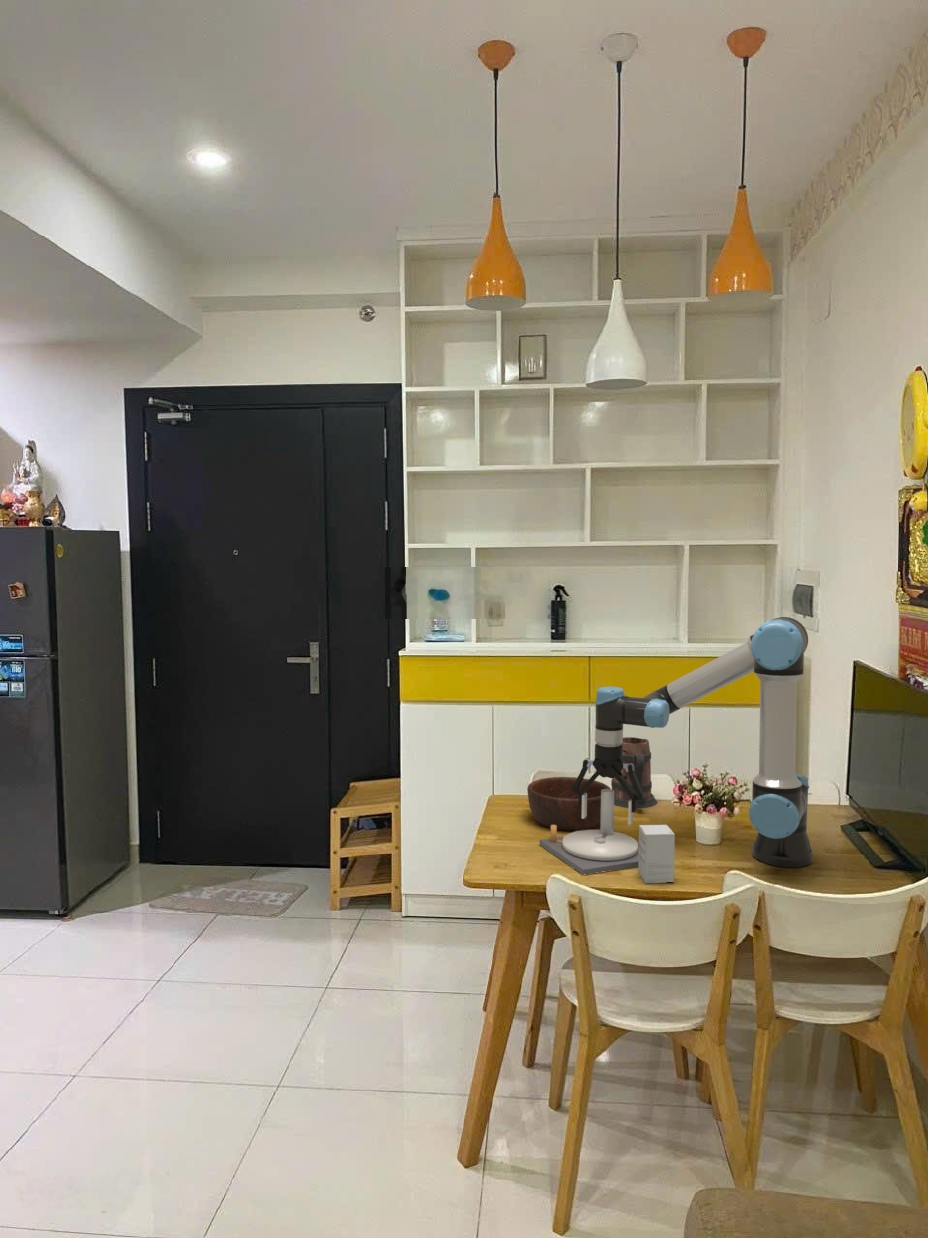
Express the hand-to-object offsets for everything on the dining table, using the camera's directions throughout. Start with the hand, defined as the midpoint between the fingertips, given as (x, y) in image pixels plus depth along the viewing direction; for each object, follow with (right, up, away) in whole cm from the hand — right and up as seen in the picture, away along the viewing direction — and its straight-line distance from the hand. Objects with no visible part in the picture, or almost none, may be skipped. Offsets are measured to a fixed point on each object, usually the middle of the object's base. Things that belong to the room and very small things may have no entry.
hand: (607, 820), depth 244 cm
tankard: (+15, -4, +40) cm, 43 cm away
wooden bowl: (-8, -5, +22) cm, 24 cm away
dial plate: (-3, -8, -6) cm, 10 cm away
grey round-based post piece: (-3, -6, -6) cm, 9 cm away
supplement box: (+8, -9, -23) cm, 26 cm away
